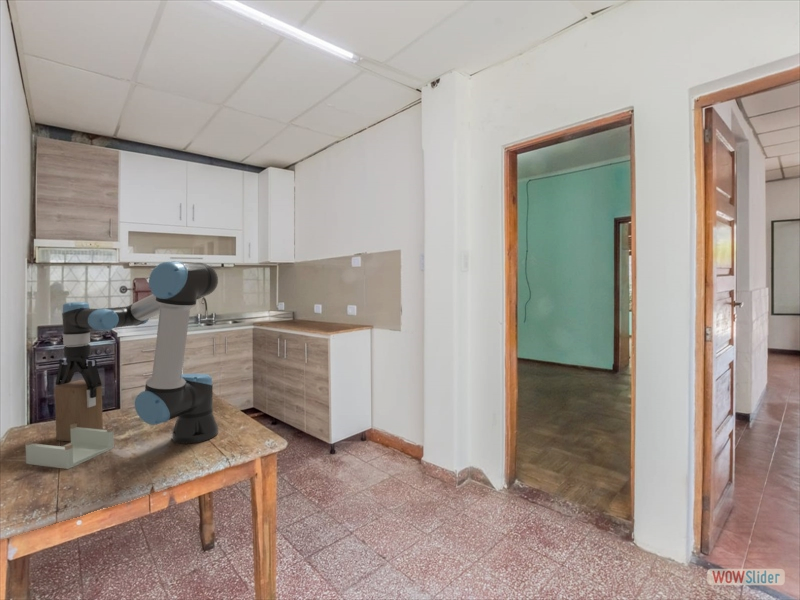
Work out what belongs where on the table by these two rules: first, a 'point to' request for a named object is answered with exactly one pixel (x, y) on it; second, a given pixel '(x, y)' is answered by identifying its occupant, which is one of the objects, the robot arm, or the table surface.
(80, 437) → the pale green tray
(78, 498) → the table surface
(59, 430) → the wooden block
